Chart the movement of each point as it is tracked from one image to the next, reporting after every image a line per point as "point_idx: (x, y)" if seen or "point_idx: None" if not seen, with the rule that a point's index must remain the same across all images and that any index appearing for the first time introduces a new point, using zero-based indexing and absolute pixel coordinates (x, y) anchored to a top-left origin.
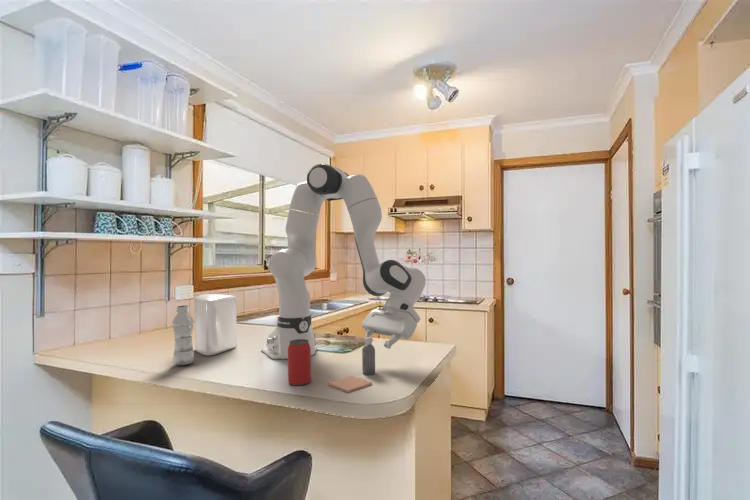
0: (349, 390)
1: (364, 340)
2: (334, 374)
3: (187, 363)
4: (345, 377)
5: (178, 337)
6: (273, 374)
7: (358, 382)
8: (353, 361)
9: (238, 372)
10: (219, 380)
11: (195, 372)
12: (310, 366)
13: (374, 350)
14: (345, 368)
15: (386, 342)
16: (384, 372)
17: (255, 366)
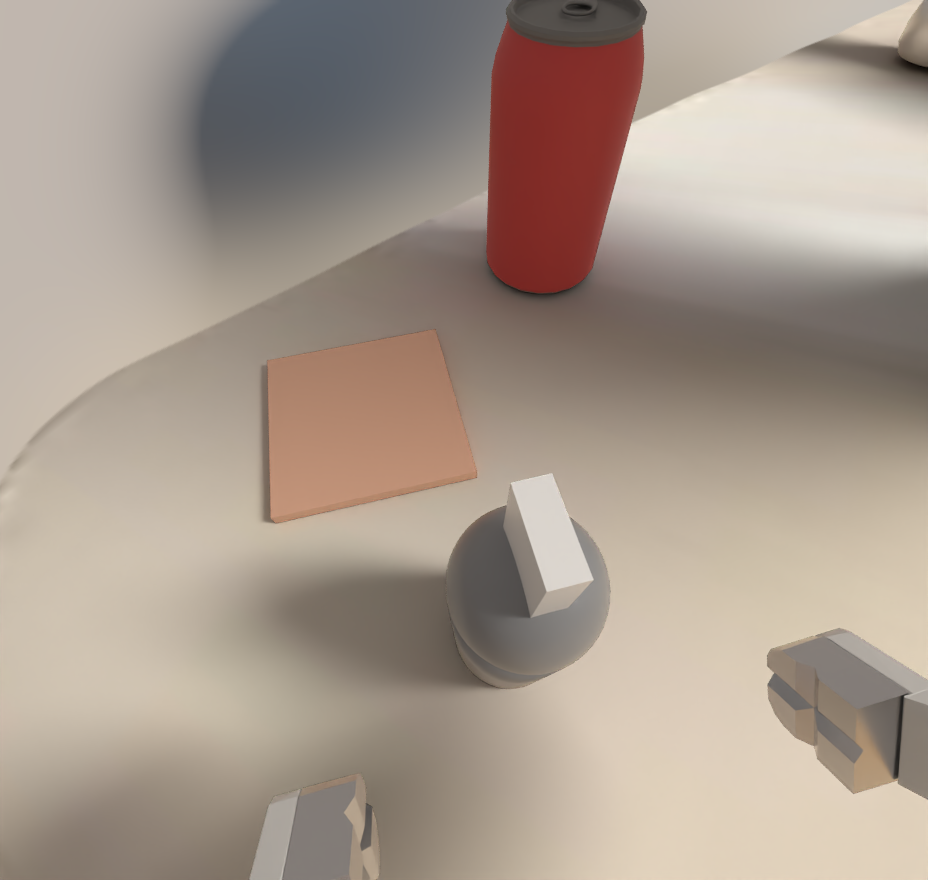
0: (268, 372)
1: (820, 635)
2: (588, 417)
3: (907, 54)
4: (462, 426)
5: None
6: (704, 217)
7: (332, 450)
8: None
9: (776, 146)
10: (689, 108)
11: (811, 78)
12: (518, 219)
13: (462, 636)
14: (696, 524)
15: (318, 839)
16: (453, 772)
17: (860, 191)
